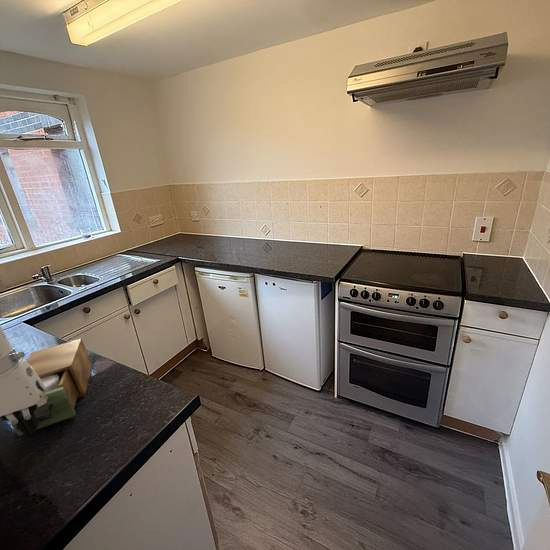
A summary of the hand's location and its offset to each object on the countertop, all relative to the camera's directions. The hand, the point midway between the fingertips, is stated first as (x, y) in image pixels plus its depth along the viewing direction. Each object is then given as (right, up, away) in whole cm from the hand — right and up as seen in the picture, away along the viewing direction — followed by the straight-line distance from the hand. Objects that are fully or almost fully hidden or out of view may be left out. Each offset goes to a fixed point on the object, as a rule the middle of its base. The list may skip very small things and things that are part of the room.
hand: (31, 430), depth 68 cm
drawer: (-4, -1, +11) cm, 12 cm away
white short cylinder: (-5, 0, +13) cm, 14 cm away
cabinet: (-8, +1, +22) cm, 24 cm away
